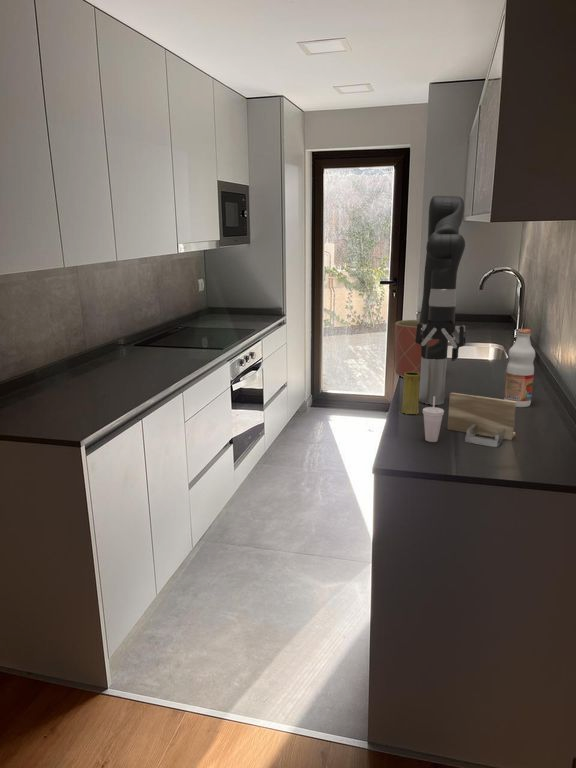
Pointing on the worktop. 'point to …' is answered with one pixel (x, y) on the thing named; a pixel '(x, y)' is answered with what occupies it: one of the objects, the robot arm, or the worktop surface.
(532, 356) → the fruit juice
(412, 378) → the vase
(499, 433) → the white u-shaped frame
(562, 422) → the worktop surface
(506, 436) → the wall board
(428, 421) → the smoothie
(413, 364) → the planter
